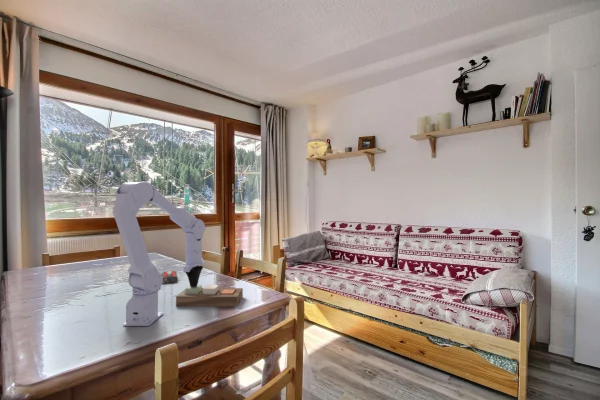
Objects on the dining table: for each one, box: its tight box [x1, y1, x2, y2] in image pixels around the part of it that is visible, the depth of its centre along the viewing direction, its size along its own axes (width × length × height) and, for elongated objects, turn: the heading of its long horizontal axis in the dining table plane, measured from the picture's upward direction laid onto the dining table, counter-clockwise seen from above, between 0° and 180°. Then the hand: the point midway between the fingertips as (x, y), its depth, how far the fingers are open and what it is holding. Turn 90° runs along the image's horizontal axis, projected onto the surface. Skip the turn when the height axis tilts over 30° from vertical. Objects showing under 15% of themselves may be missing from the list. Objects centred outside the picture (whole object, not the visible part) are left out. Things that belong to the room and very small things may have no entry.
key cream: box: [202, 284, 219, 295], centre depth 108 cm, size 4×4×2 cm
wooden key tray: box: [175, 287, 244, 308], centre depth 108 cm, size 10×22×4 cm, turn 90°
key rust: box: [221, 289, 235, 295], centre depth 108 cm, size 4×4×2 cm
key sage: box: [185, 284, 203, 294], centre depth 108 cm, size 4×4×2 cm
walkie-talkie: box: [161, 270, 178, 285], centre depth 132 cm, size 9×4×20 cm
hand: (193, 286), depth 108 cm, fingers closed
